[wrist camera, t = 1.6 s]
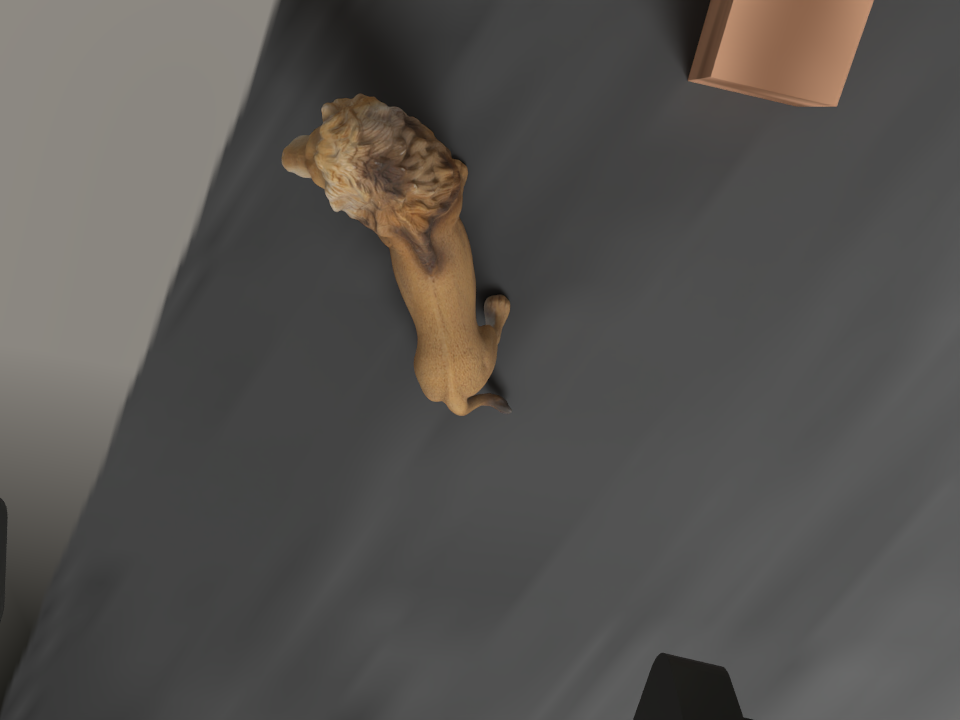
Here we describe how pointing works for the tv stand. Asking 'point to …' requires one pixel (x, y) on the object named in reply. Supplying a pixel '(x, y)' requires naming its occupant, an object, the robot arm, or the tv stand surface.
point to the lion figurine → (411, 235)
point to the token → (780, 48)
